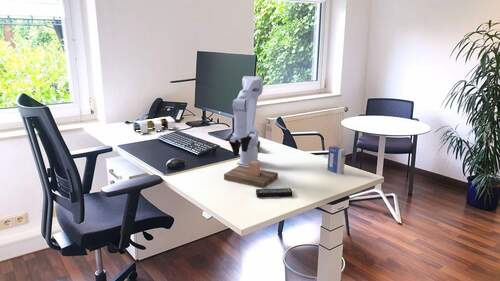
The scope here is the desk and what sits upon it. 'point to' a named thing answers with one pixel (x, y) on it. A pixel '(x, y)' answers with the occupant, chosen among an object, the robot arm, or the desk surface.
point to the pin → (254, 168)
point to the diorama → (153, 124)
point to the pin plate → (250, 177)
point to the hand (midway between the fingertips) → (240, 153)
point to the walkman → (336, 160)
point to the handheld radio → (258, 145)
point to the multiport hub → (274, 192)
